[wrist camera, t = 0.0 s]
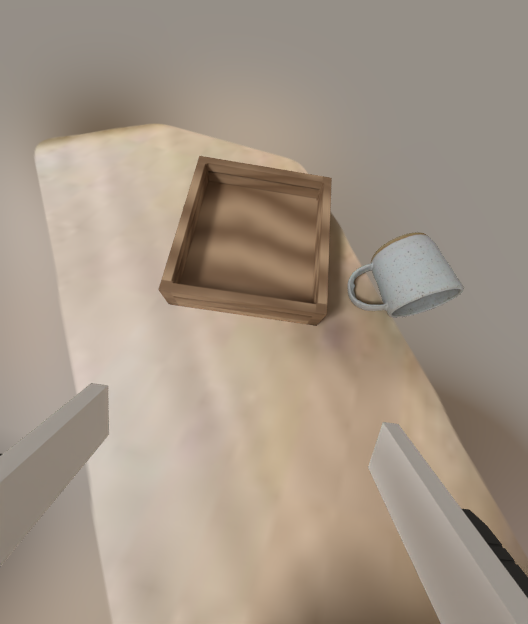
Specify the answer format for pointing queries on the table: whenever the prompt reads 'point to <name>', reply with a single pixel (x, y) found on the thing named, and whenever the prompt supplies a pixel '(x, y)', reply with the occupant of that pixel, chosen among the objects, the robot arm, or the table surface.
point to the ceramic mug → (409, 276)
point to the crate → (252, 243)
